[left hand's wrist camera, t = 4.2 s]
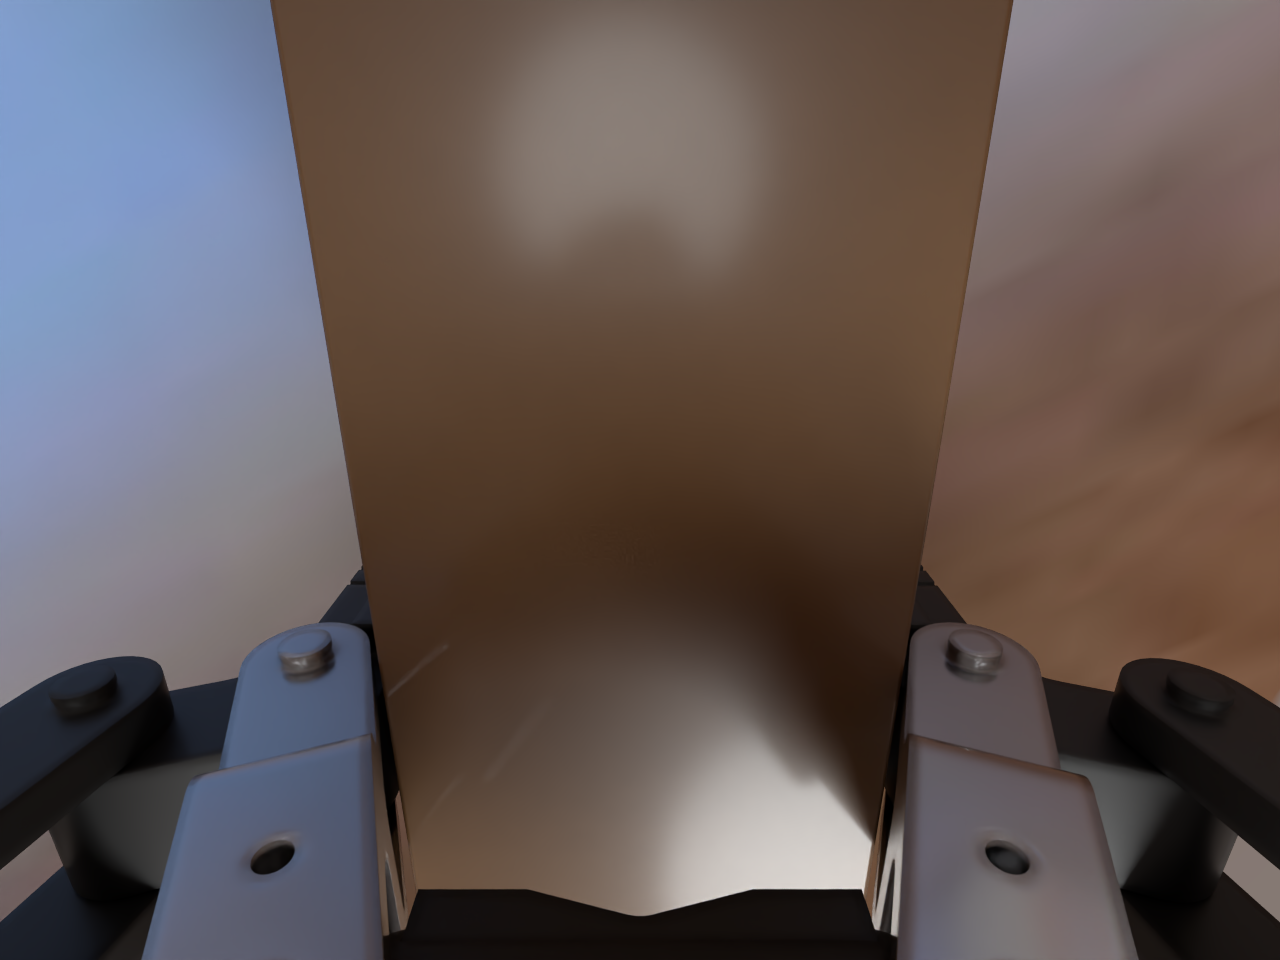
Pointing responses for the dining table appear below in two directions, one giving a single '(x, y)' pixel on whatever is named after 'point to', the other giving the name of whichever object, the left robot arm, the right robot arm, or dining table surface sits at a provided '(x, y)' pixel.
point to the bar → (641, 411)
